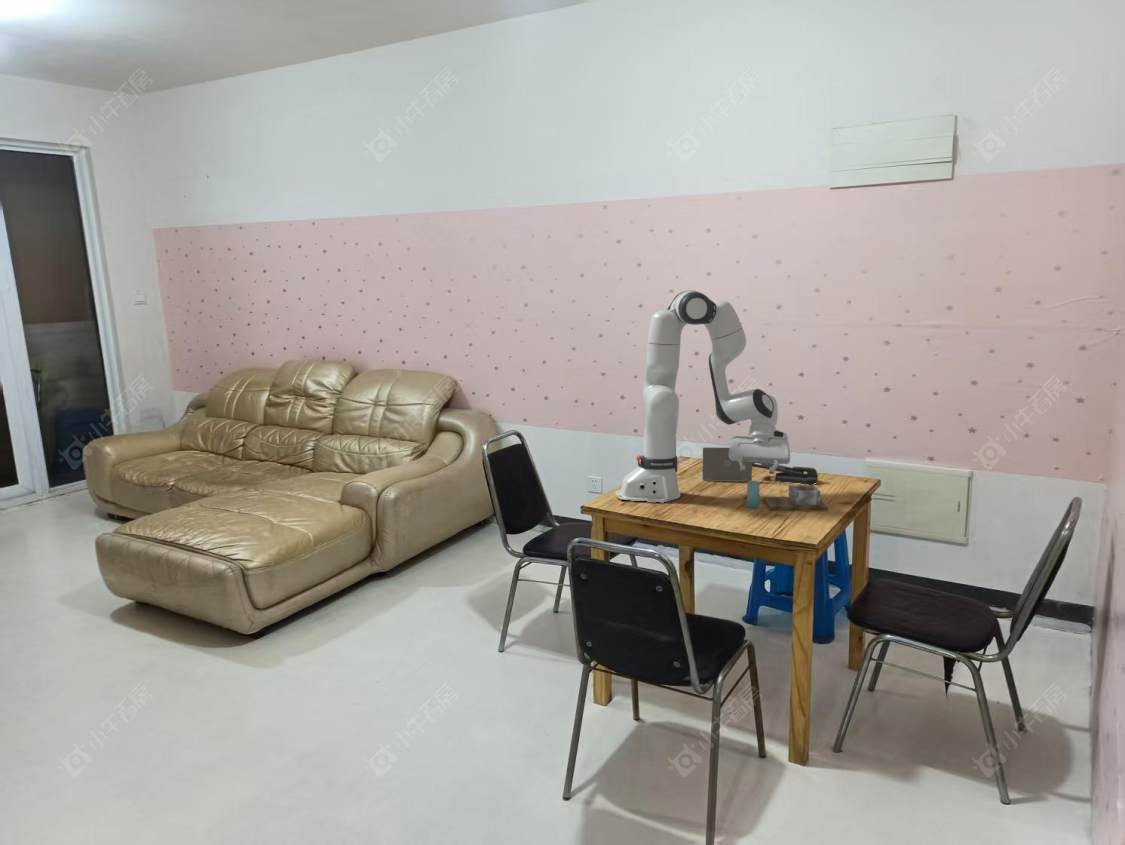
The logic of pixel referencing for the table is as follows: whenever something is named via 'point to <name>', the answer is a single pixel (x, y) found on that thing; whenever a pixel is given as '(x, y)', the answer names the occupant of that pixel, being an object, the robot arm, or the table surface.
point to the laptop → (723, 466)
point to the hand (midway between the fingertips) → (757, 471)
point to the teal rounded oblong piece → (753, 494)
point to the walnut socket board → (797, 499)
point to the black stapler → (792, 473)
